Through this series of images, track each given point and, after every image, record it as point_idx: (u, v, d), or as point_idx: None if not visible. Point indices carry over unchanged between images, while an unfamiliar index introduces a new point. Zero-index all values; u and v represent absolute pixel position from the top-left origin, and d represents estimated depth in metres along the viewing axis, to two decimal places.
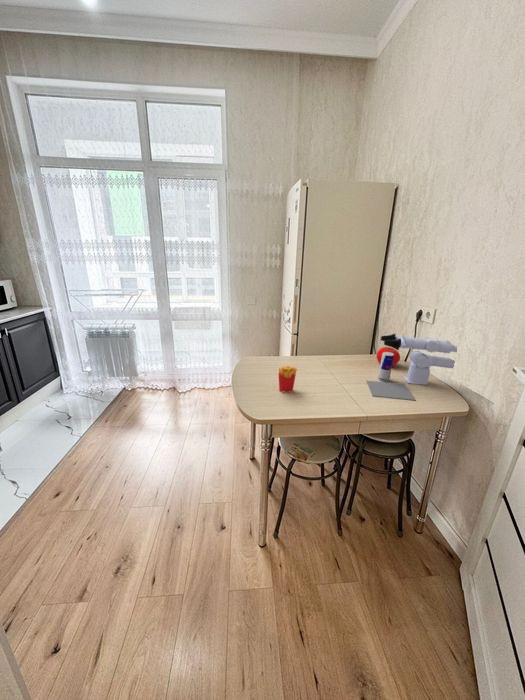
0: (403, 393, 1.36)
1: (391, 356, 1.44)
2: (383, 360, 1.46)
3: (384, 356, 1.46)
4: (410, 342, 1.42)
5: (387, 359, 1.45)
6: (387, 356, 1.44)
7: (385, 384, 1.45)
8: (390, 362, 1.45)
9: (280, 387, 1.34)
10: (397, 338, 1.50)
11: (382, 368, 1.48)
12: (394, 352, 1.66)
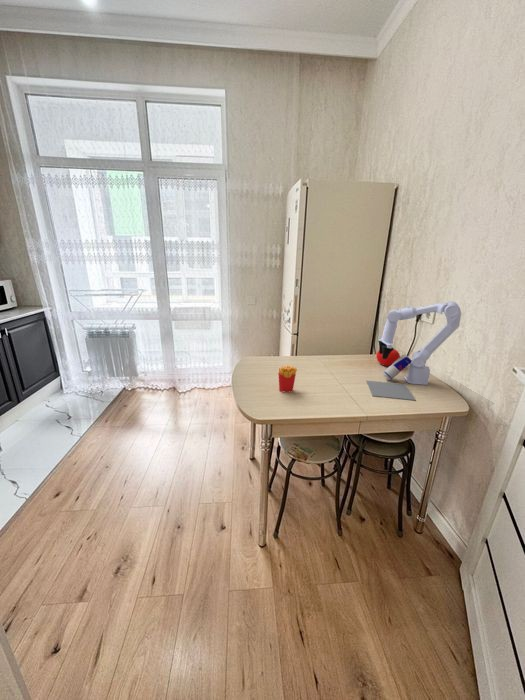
0: (403, 393, 1.36)
1: (410, 360, 1.46)
2: (401, 359, 1.47)
3: (404, 356, 1.46)
4: (387, 335, 1.48)
5: (405, 360, 1.46)
6: (407, 358, 1.46)
7: (385, 384, 1.45)
8: (405, 365, 1.46)
9: (280, 387, 1.34)
10: None
11: (395, 365, 1.47)
12: (394, 352, 1.66)
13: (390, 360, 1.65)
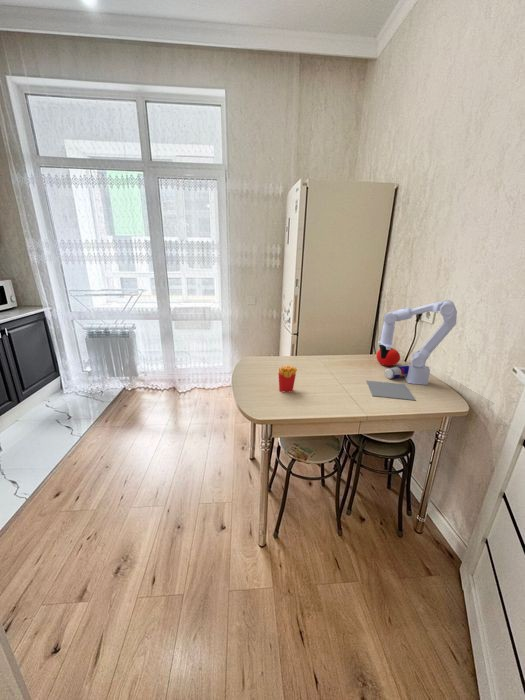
0: (403, 393, 1.36)
1: None
2: (403, 366, 1.56)
3: (406, 365, 1.57)
4: (386, 337, 1.49)
5: (407, 367, 1.55)
6: None
7: (385, 384, 1.45)
8: (406, 370, 1.54)
9: (280, 387, 1.34)
10: None
11: (398, 367, 1.54)
12: (394, 352, 1.66)
13: (390, 360, 1.65)
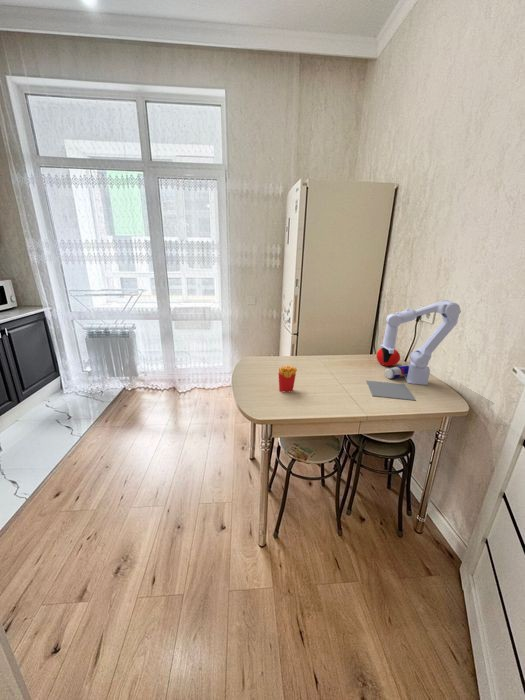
0: (403, 393, 1.36)
1: None
2: (403, 366, 1.56)
3: (406, 365, 1.57)
4: (388, 340, 1.44)
5: (407, 367, 1.55)
6: None
7: (385, 384, 1.45)
8: (406, 370, 1.54)
9: (280, 387, 1.34)
10: None
11: (398, 367, 1.54)
12: (394, 352, 1.66)
13: (390, 360, 1.65)
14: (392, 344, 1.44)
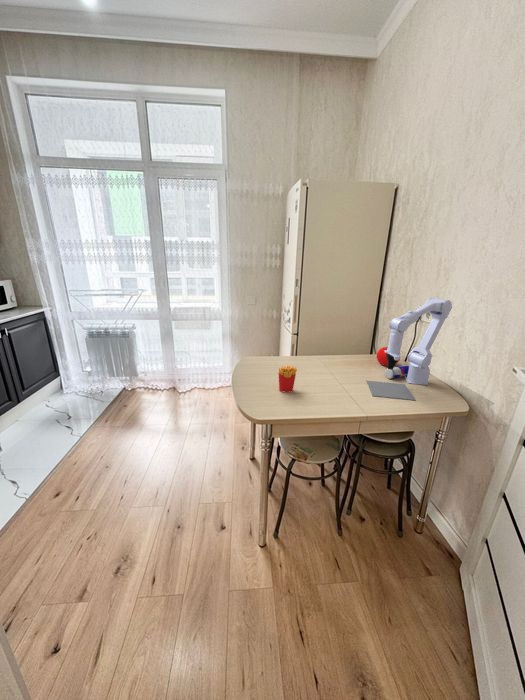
0: (403, 393, 1.36)
1: None
2: (403, 366, 1.56)
3: (406, 365, 1.57)
4: (393, 346, 1.35)
5: (407, 367, 1.55)
6: None
7: (385, 384, 1.45)
8: (406, 370, 1.54)
9: (280, 387, 1.34)
10: None
11: (398, 367, 1.54)
12: None
13: None
14: (397, 350, 1.35)
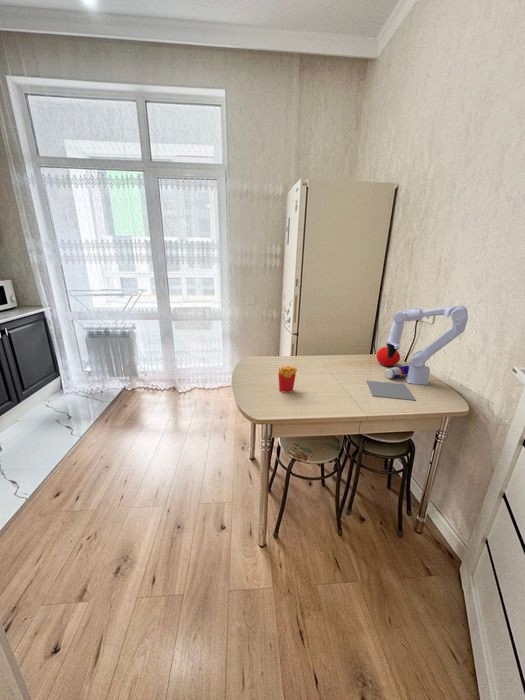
0: (403, 393, 1.36)
1: None
2: (403, 366, 1.56)
3: (406, 365, 1.57)
4: (394, 336, 1.48)
5: (407, 367, 1.55)
6: None
7: (385, 384, 1.45)
8: (406, 370, 1.54)
9: (280, 387, 1.34)
10: None
11: (398, 367, 1.54)
12: None
13: (390, 360, 1.65)
14: (398, 340, 1.48)
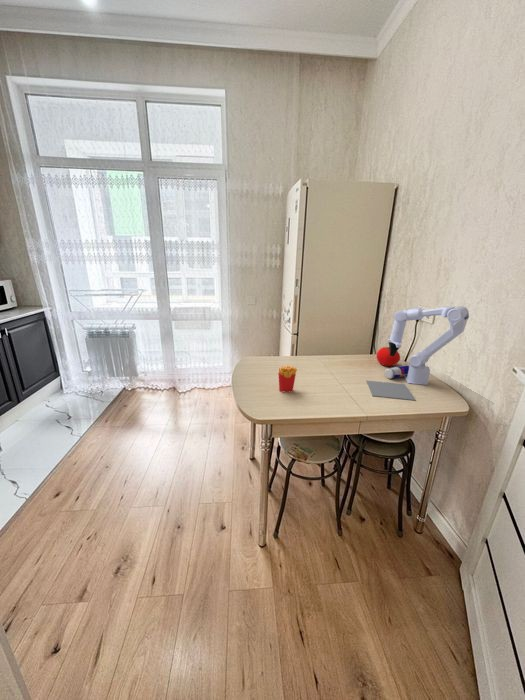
0: (403, 393, 1.36)
1: None
2: (403, 366, 1.56)
3: (406, 365, 1.57)
4: (396, 335, 1.50)
5: (407, 367, 1.55)
6: None
7: (385, 384, 1.45)
8: (406, 370, 1.54)
9: (280, 387, 1.34)
10: None
11: (398, 367, 1.54)
12: None
13: (390, 360, 1.65)
14: (399, 339, 1.51)
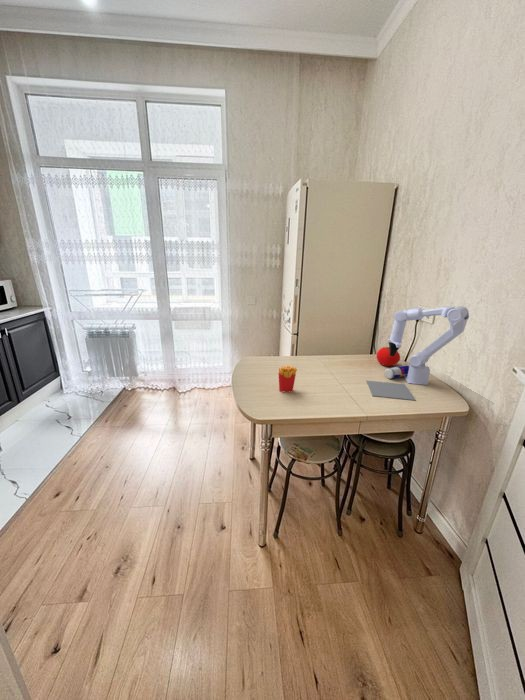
0: (403, 393, 1.36)
1: None
2: (403, 366, 1.56)
3: (406, 365, 1.57)
4: (396, 335, 1.50)
5: (407, 367, 1.55)
6: None
7: (385, 384, 1.45)
8: (406, 370, 1.54)
9: (280, 387, 1.34)
10: None
11: (398, 367, 1.54)
12: None
13: (390, 360, 1.65)
14: (399, 339, 1.51)
